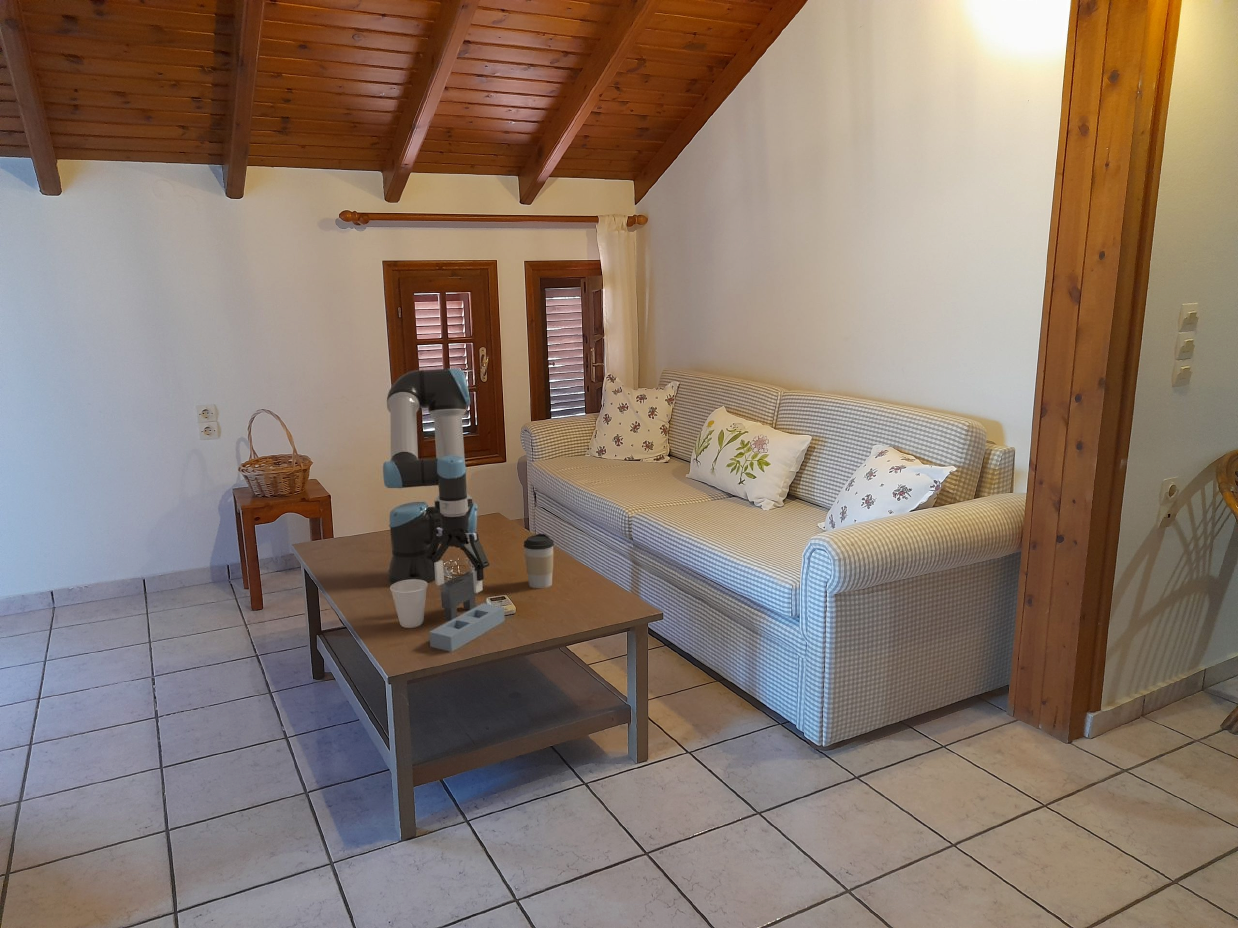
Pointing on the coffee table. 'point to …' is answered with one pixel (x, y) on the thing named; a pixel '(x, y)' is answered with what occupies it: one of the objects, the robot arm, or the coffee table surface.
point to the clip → (458, 594)
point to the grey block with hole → (466, 627)
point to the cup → (410, 601)
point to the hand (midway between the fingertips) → (458, 587)
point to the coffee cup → (539, 560)
